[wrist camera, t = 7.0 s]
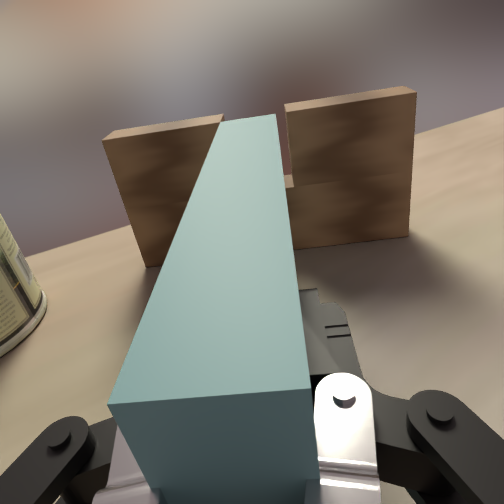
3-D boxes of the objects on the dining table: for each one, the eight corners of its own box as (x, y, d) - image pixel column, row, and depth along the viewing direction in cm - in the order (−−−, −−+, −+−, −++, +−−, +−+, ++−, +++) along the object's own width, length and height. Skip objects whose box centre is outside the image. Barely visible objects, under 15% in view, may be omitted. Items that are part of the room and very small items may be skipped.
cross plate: (227, 638, 11) (106, 404, 6) (248, 273, 26) (220, 122, 21) (336, 636, 11) (311, 388, 5) (292, 268, 26) (275, 113, 21)
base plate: (145, 267, 31) (101, 140, 25) (153, 250, 33) (114, 130, 28) (408, 236, 29) (416, 92, 24) (398, 220, 31) (403, 85, 26)
